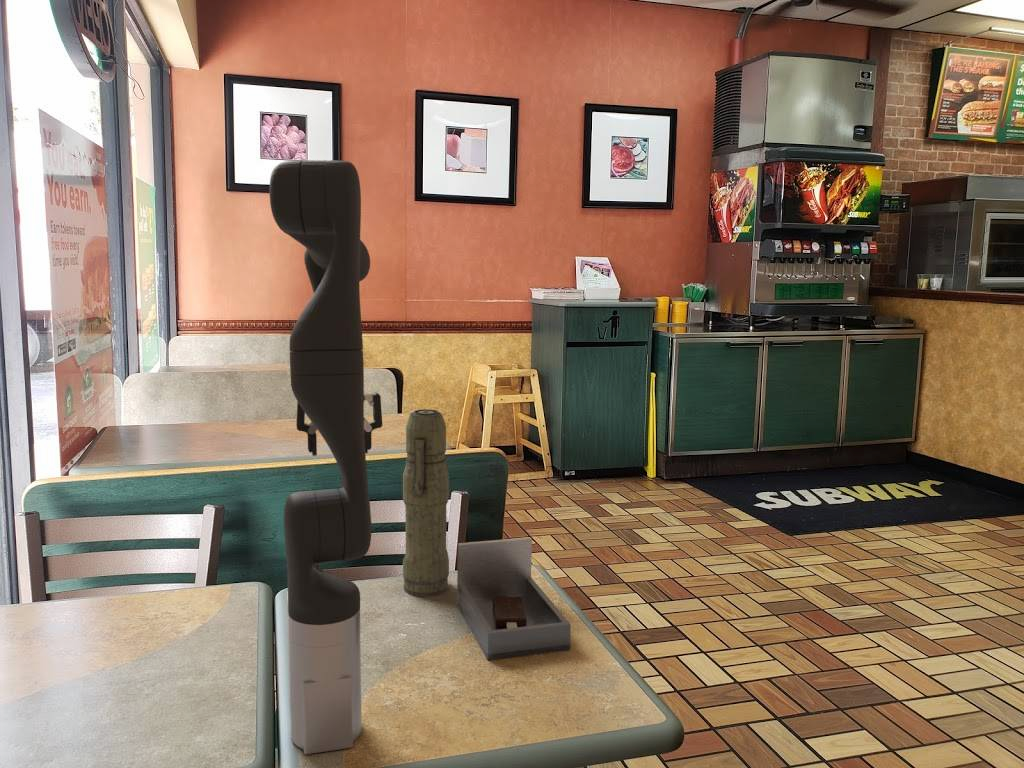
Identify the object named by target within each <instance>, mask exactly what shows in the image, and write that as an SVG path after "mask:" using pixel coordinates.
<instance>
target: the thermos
mask: <svg viewBox="0 0 1024 768" xmlns="http://www.w3.org/2000/svg"><path fill="white" fill-rule="evenodd" d="M446 451H447V425H446V422H445V418H444V416H443V413H442V412H440V411H438V410H435V409H427V408H426V409H416V410H414V411H413V412H410V413H409V415H408V420H407V421H406V427H405V452H406V459H405V466H404V471H403V473H402V500H403V503H404V505H405V509H404V511H405V553H404V557H403V560H402V576H403V590H404V592H405V593H407V594H409V595H411V596H417V597H434V596H438V595H441V594H443V593H445V592H446V591H447V590H448V589H449V580H448V578H449V575H450V559H449V552H448V549H447V504H448V502H449V500H450V472H449V469H448V466H447V459H446Z"/></svg>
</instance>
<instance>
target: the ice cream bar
mask: <svg viewBox="0 0 1024 768" xmlns="http://www.w3.org/2000/svg"><path fill="white" fill-rule="evenodd" d="M493 610H494V617H495V624H496V627H507V629H509V628H517V627H526V622H527V620H526V615H525V611H524V607H523V603H522V598H520V597H509V596H495V597H494V598H493Z"/></svg>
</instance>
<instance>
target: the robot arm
mask: <svg viewBox="0 0 1024 768" xmlns="http://www.w3.org/2000/svg"><path fill="white" fill-rule="evenodd" d="M361 192H362V191H361V182H360V176H359V173H358V170H357V168H356V166H355V165H354V164H353V163H352V162H351V161H348V160H334V159H333V160H325V159H323V160H318V159H317V160H316V159H315V160H314V159H313V160H311V159H310V160H309V159H308V160H305V159H304V160H302V159H299V160H298V159H297V160H287V161H282V162H279V163H278V164H276V165H275V166H274V167H273V169H272V171H271V173H270V178H269V203H270V209H271V213H272V217H273V219H274V222H275V223H276V225H277V227H278V229H280V230H281V231H282V232H283V233H284V234H286V235H288V236H289V237H290V238H292V239H293V240H295V241H297V242H298V243H300V244H301V245H302V246H303V247H305V251H304V254H303V258H304V265H305V270H306V272H307V275H308V279H309V281H310V284H311V289H312V292H313V295H312V296H311V298H310V299H309V301H308V302H307V304H306V305H305V307H304V308H303V310H301V311H302V312H301V313H300V315H299V317H298V318H297V320H296V322H295V324H294V325H293V328H292V330H291V333H290V337H289V366H290V367H289V368H290V369H289V372H290V374H289V375H290V386H291V391H292V393H293V395H294V397H295V400H296V401H297V404H296V424H295V425H296V429H297V431H299V432H304V433H306V435H307V450H308V452H309V453H311V455H312V456H313V457H315V456H316V457H317V455H318V453H317V451H318V450H317V447H318V443H317V431H318V433H319V434H320V435H321V437H322V438H323V440H324V441H325V443H326V444H327V447H328V448H329V450H330V452H331V453H332V455H333V457H334V459H335V461H336V464H337V466H338V469H339V472H340V473H339V474H340V476H341V484H342V485H341V487H339V488H329V489H316V490H305V491H297V492H292V493H290V494H289V495H288V496H287V498H286V501H285V502H284V508H283V534H284V535H283V536H284V544H285V545H284V546H285V547H284V548H285V555H286V566H287V567H286V568H287V569H286V570H287V617H288V620H287V621H288V622H287V623H288V628H287V630H288V668H289V669H288V671H289V710H290V738H291V741H292V743H293V744H294V745H295V746H296V747H298V748H300V749H302V750H303V754H304V755H310V754H316V753H323V752H329V751H332V752H333V751H338V750H343V749H351V748H353V747H354V742H355V741H356V740H357V739H358V738H359V737H360V735H361V732H362V726H363V725H362V724H363V723H362V719H363V718H362V665H361V664H362V663H361V662H362V661H361V659H362V657H361V652H362V651H361V649H362V648H361V592H360V589H359V587H358V586H357V584H356V583H355V582H354V581H351V580H350V579H347V578H343V577H340V576H337V575H332V574H328V573H325V572H322V571H321V570H318V569H317V568H315V567H314V564H319V563H321V564H322V563H328V562H338V561H347V560H354V559H360V558H362V557H364V556H366V555H367V553H368V552H369V549H370V545H371V542H372V541H371V540H372V517H371V502H370V490H369V481H368V480H369V479H368V471H367V470H368V469H367V459H366V458H367V457H366V454H368V453H369V452H368V451H371V449H372V432H373V431H374V430H377V429H380V428H382V427H383V414H382V400H381V394H380V393H378V392H377V391H374V392H372V393H364V392H365V378H364V377H365V372H364V371H365V368H364V367H365V366H364V348H363V347H364V343H363V330H362V329H363V328H362V327H363V326H362V311H361V298H360V297H361V296H360V294H361V293H360V289H361V288H360V283H361V282H362V281H363V280H364V279H366V278H367V276H368V274H369V272H370V269H371V257H370V254H369V250H368V248H367V246H366V245H365V242H363V241H362V240H361V228H362V226H361V223H362V222H361V221H362V220H361V218H362V215H361V214H362V194H361ZM365 401H367V404H368V405H369V406H370V407H372V415H373V420H371V421H368V420H367V419H366V417H365V412H364V411H365V408H364V407H365V405H364V404H365V403H364V402H365ZM305 415H306V416H307V418H308V419H309V421H310V423H306V422H305V419H306V416H305Z"/></svg>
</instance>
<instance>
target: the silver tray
mask: <svg viewBox="0 0 1024 768" xmlns="http://www.w3.org/2000/svg"><path fill="white" fill-rule="evenodd" d="M532 548H533V540H532V538H531V536H530V537H528V536H527V537H518V538H507V539H506V538H504V539H495V540H494V539H493V540H482V541H470V542H469V541H468V542H460V543H459V542H458V543H457V567H456V568H457V574H456V577H457V580H456V581H457V586H456V587H457V589H456V590H457V591H456V593H457V594H456V599H457V600H456V601H457V602H456V605H457V608H458V609H459V611H460V613H461V615H462V617H463V619H464V620H465V623H467V624H466V625H467V626H468V628H469V629H470V631H471V634H472V635H473V637H474V638H475V640H476V642H477V645H479V648H480V650H481V652H482V653H483V655H484V656H485V658H486V661H495V660H502V659H503V660H504V659H510V658H517V657H525V656H527V657H528V656H533V655H540V654H541V655H542V654H548V653H557V652H558V653H559V652H565V651H571V627H572V626H571V623H570V621H569V620H568V619H567V618H566V617H565V616H564V614H563V613H562V612H561V611H560V609H558V607H557V606H556V605H555V604H554V603H553V602H552V600H551V599H550V598H549V596H547V594H546V593H545V592H544V591H543V590H542V588H541V587H540V586H539V585H538V584H537V583H536V581H535V580H534V579H533V578H532V555H533V554H532V550H533V549H532ZM495 596H509V597H520V598H522V603H523V607H524V611H525V615H526V620H527V622H526V627H517V628H509V629H507V627H496V624H495V617H494V610H493V598H494V597H495Z"/></svg>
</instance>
